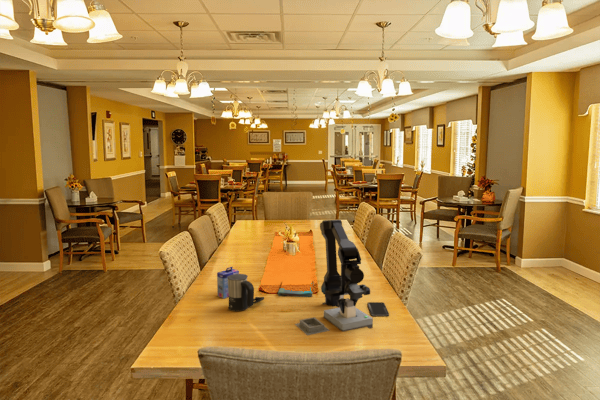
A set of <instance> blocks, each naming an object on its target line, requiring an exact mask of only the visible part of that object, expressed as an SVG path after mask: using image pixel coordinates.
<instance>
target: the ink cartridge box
mask: <svg viewBox="0 0 600 400" xmlns="http://www.w3.org/2000/svg"><path fill="white" fill-rule="evenodd" d="M233 274H240V272H239V270H238V269H235V268H234V267H233V266H230V267H227V268H226V269H225V270H221V271H219V272H217V273H216V278H217V280H216V281H217V282H216V283H217V288H216V289H217V297H219V298H221V299H223V300H224V299H227V297H228V298H229V294H228V278H227V277H228V276H229V275H233Z"/></svg>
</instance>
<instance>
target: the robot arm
mask: <svg viewBox="0 0 600 400" xmlns="http://www.w3.org/2000/svg"><path fill="white" fill-rule="evenodd" d="M319 230H320V232H321V236H322V237H323V238H324V240H325V255H326V259H325V261H326V273H325V275H324V277H323V282H322V285H321V286H320V290H321V293H322V294H323V295H324V300H325V301H324V302H322V304H321V305H323V306H325V305H327V306H330V307H336V308H340V309H341V311H342V313H343V314H344V302H345V300H346V299H347V298H345V296H349V299H350V300H352V301H354V304H353V305H354V306H356V307H357V303H358V301H359V300H360V299H362V298H363V296H369V295H371V288H370V287H369V286H367V285H366V284H360V283H362V281H363V280H364V278H365V274H364V272H363V270H362V269H360V265H361V264H362V262H361V261H362V258H361V255H360V251H359V249H358V247H357V246H356V244H355V243H354V242H353V241H351V240H350V239H349V237H348V235H347V233H346V231H345V229H344V227H343V222H342V220H341V219H324V220H322V221H321V222H320V223H319ZM336 245H338V250H337V246H336ZM337 256H338V258H337ZM338 259H339V261H340V273H339V272H338Z"/></svg>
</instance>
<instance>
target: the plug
mask: <svg viewBox="0 0 600 400" xmlns="http://www.w3.org/2000/svg"><path fill="white" fill-rule="evenodd" d="M345 299H346V300H345V302H344V314H343V313H342V311H341V309H340V314H341V315H342V316H343V317H345V318H346V319H347V318H352V317H356V308H357V305H356V306H354V305H353V304H354V301H352V300H350V297H349V298H345Z"/></svg>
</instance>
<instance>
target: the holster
mask: <svg viewBox="0 0 600 400" xmlns="http://www.w3.org/2000/svg"><path fill="white" fill-rule="evenodd" d="M294 325H295V326H296V327H297V328H298V329H300V331H302V332H303V333H304V334H305V335H306V336H312V335H317V334H321V333H325V332H330V329H329V328H328V327H326V326H325V324H324V323H323V322H321V320H319V319H318V318H317V317H315V316H314V317H308V318H304V319H299V322H298V323H294Z"/></svg>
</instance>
